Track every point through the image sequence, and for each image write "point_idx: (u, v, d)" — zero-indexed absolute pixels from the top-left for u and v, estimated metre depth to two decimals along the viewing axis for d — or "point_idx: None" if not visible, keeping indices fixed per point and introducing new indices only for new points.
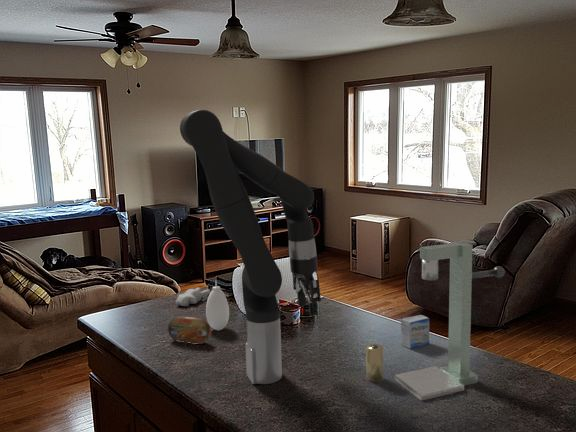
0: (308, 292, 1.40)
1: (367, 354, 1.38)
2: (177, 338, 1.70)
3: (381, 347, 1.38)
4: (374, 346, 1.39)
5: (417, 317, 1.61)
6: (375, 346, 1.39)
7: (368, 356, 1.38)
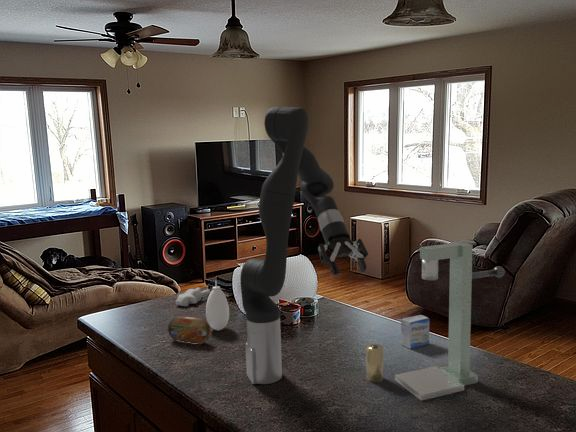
0: None
1: (367, 354, 1.38)
2: (177, 338, 1.70)
3: (381, 347, 1.38)
4: (374, 346, 1.39)
5: (417, 317, 1.61)
6: (375, 346, 1.39)
7: (368, 356, 1.38)
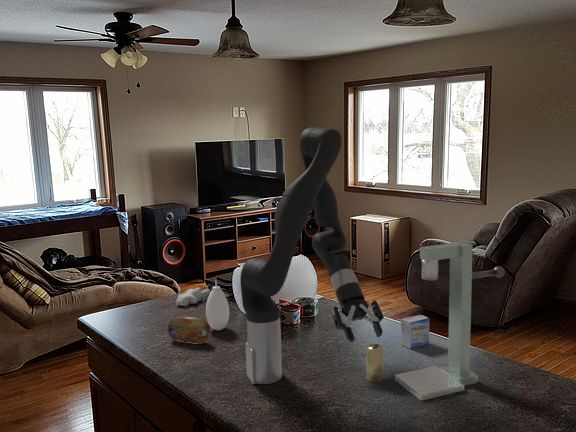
0: None
1: (367, 354, 1.38)
2: (177, 338, 1.70)
3: (381, 347, 1.38)
4: (374, 346, 1.39)
5: (417, 317, 1.61)
6: (375, 346, 1.39)
7: (368, 356, 1.38)
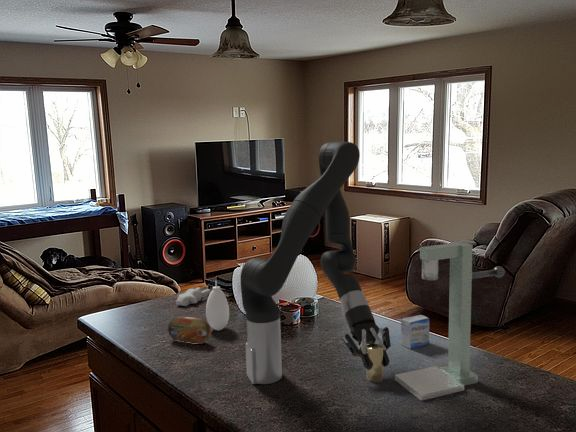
0: None
1: None
2: (177, 338, 1.70)
3: (381, 347, 1.38)
4: (374, 346, 1.39)
5: (417, 317, 1.61)
6: (375, 346, 1.39)
7: None
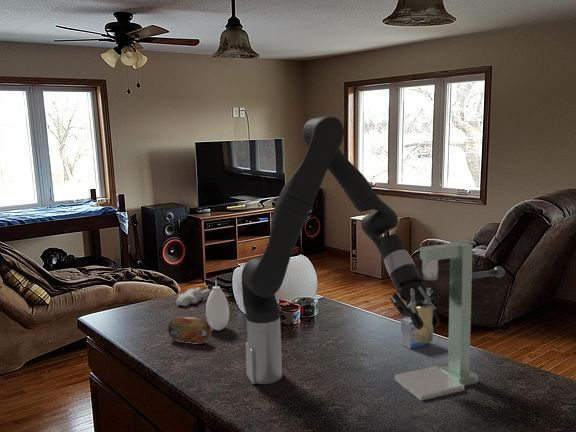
0: None
1: (417, 313, 1.33)
2: (177, 338, 1.70)
3: (431, 306, 1.33)
4: (424, 305, 1.33)
5: None
6: (425, 305, 1.33)
7: None
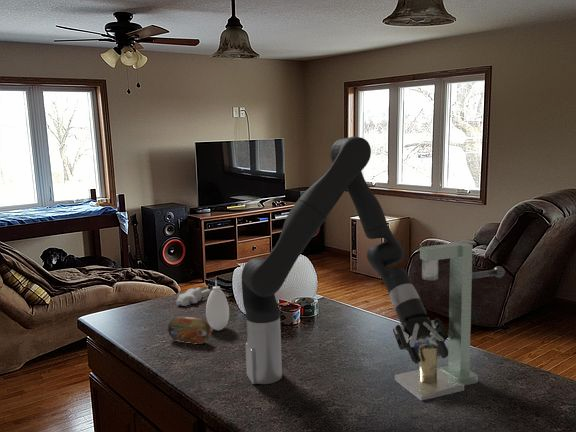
0: None
1: (421, 354, 1.33)
2: (177, 338, 1.70)
3: (435, 347, 1.34)
4: (428, 346, 1.34)
5: None
6: (429, 346, 1.34)
7: (422, 356, 1.33)
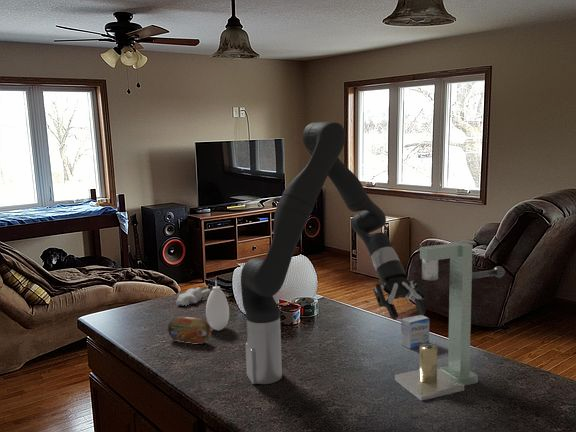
0: None
1: (421, 354, 1.33)
2: (177, 338, 1.70)
3: (435, 347, 1.34)
4: (428, 346, 1.34)
5: (417, 317, 1.61)
6: (429, 346, 1.34)
7: (422, 356, 1.33)
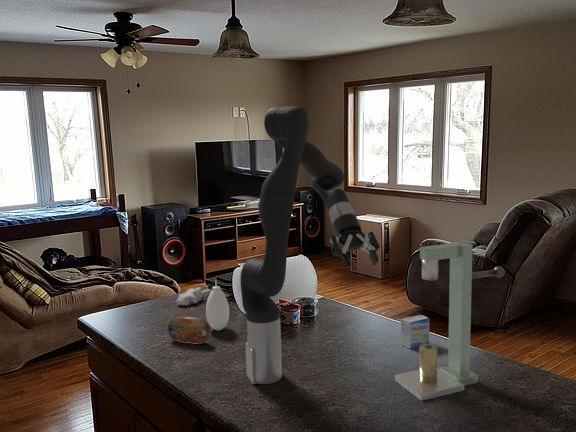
0: None
1: (421, 354, 1.33)
2: (177, 338, 1.70)
3: (435, 347, 1.34)
4: (428, 346, 1.34)
5: (417, 317, 1.61)
6: (429, 346, 1.34)
7: (422, 356, 1.33)
